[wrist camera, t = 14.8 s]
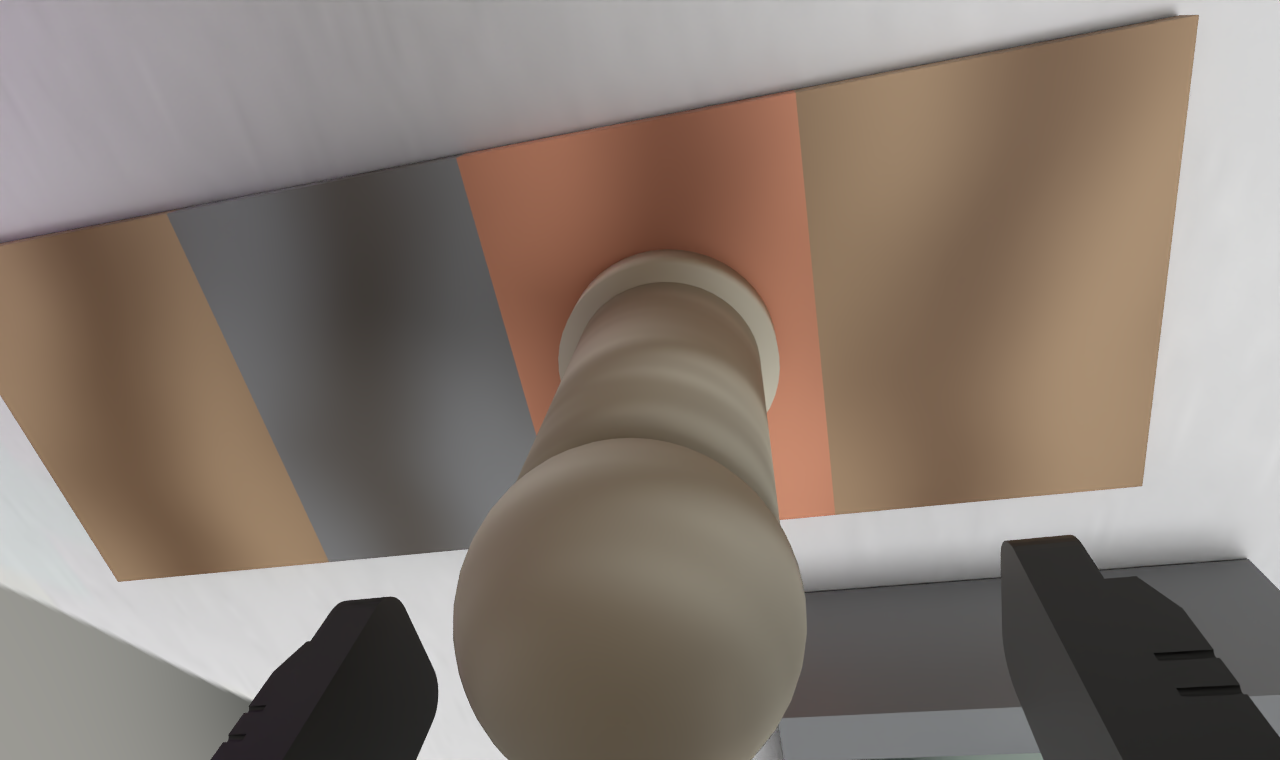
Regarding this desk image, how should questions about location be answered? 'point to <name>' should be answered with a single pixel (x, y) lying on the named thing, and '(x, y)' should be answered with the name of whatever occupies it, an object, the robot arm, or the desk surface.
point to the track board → (572, 258)
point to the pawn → (641, 536)
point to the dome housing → (983, 662)
